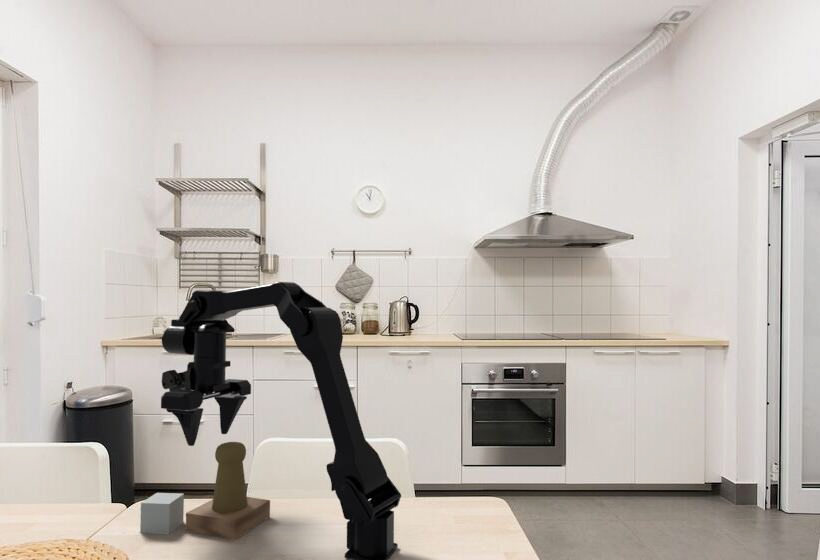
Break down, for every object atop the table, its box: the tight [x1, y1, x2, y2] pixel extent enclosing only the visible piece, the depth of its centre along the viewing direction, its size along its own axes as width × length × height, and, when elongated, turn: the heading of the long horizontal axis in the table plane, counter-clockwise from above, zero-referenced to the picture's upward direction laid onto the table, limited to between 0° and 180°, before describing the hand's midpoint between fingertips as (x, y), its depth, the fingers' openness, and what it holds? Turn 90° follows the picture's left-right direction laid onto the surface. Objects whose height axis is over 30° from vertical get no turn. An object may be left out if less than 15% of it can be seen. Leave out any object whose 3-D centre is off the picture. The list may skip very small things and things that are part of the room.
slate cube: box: [139, 492, 185, 535], centre depth 95 cm, size 5×5×5 cm
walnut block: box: [185, 496, 271, 540], centre depth 96 cm, size 10×10×3 cm
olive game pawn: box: [212, 441, 248, 513], centre depth 97 cm, size 6×6×11 cm
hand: (208, 439), depth 103 cm, fingers open, 9 cm apart
